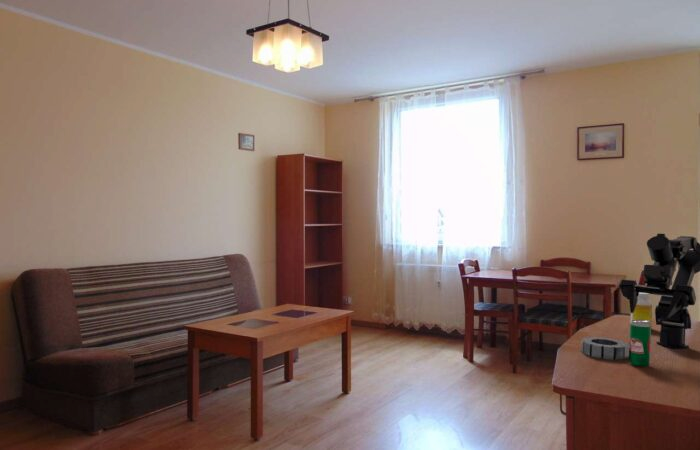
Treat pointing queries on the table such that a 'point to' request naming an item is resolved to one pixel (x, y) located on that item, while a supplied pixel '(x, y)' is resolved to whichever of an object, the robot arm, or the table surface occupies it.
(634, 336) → the soda can
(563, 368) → the table surface
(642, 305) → the supplement bottle
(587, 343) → the ring
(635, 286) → the robot arm
